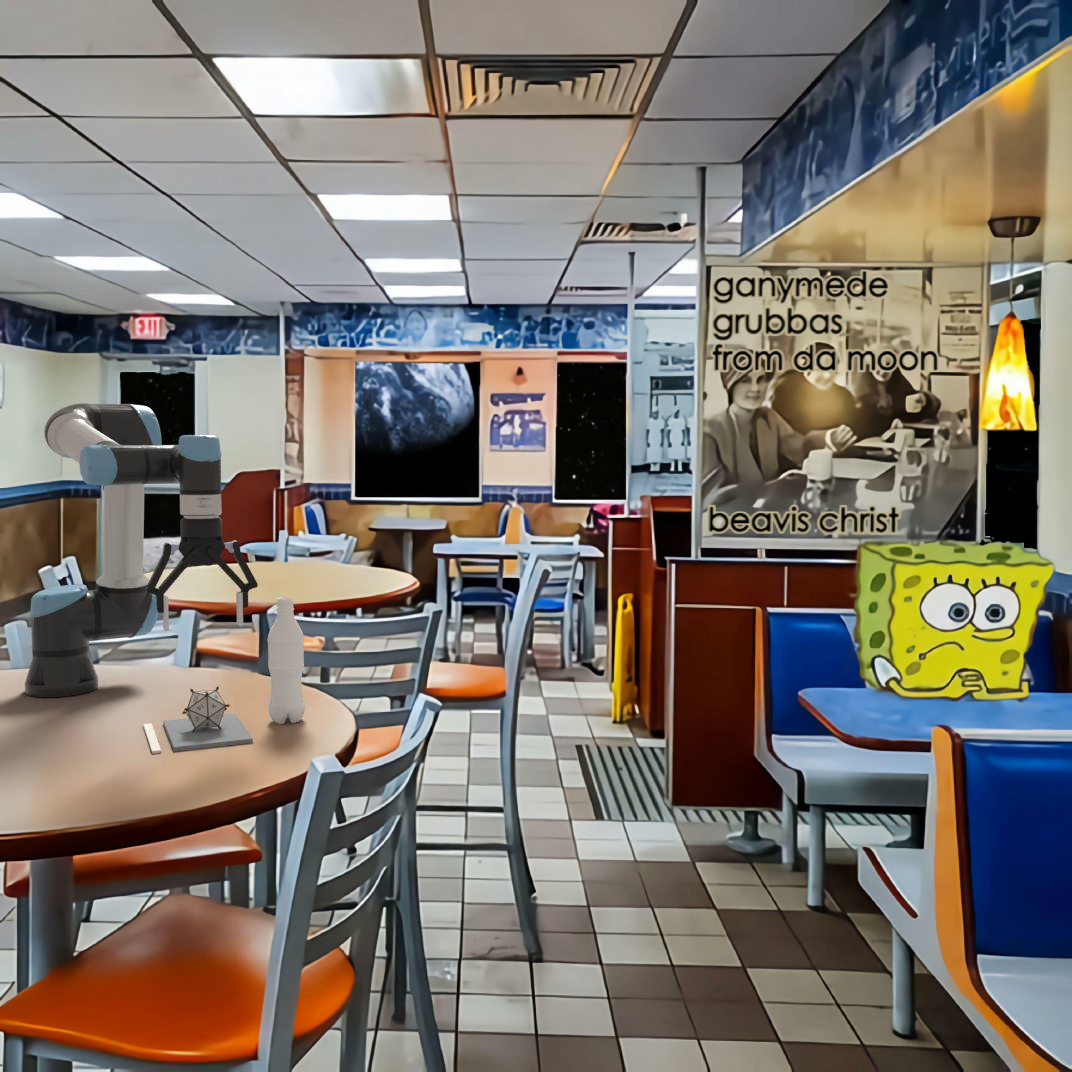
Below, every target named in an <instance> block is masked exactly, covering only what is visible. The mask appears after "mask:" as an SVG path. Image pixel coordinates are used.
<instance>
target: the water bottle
mask: <svg viewBox="0 0 1072 1072" xmlns="http://www.w3.org/2000/svg"><path fill="white" fill-rule="evenodd" d="M293 604H294V600H293V597H290V596H289V597H285V596H284V597H278V598H277V606H276V611H277V613H276V618H275V620H274V622H273V624H272V626H271V628H270V630H269V632H268V634H267V635H268V636H267V656H268V657H267V659H268V660H267V662H268V663H267V664H268V665H267V667H268V670H269V674H270V683H271V684H270V685H271V688H270V689H271V690H270V698H269V703H268V714H269V717H270V718H271V720H272V721H273V722H275V723H277V724H279V725H284V724H285V722H286V720H287V719H289V721H290V723H292V724H296V722H297V723H298V722H300V720H302V718H303V716H304V714H305V711H306V703H305V700H304V695H303V694H304V693H303V685H302V679H303V678H302V677H303V670H304V667H305V662H304V661H305V660H304V658H305V657H304V656H305V653H304V651H305V649H304V647H305V646H304V641H305V636H304V632H303V631H302V629H301V628H302V627H300V624H299V623H298V621H297V620H296V618H295V614H294V610H295V608H294V605H293Z"/></svg>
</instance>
